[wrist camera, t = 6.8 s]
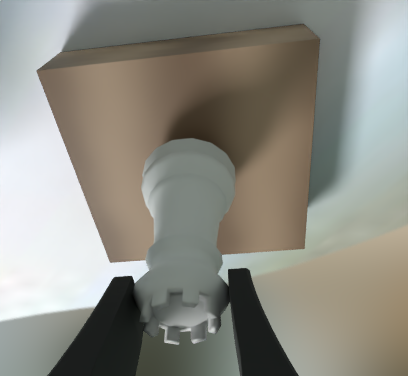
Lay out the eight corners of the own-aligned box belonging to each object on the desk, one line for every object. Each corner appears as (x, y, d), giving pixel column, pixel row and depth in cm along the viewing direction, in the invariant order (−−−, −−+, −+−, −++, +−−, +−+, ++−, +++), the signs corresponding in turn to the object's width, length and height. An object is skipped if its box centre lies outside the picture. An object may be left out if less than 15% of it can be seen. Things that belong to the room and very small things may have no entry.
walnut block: (120, 230, 25) (110, 262, 22) (60, 52, 18) (36, 71, 15) (294, 216, 24) (304, 248, 21) (303, 23, 17) (319, 38, 14)
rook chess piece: (165, 116, 15) (137, 260, 9) (253, 156, 17) (281, 306, 10) (130, 188, 18) (89, 339, 12) (208, 217, 19) (210, 369, 13)
